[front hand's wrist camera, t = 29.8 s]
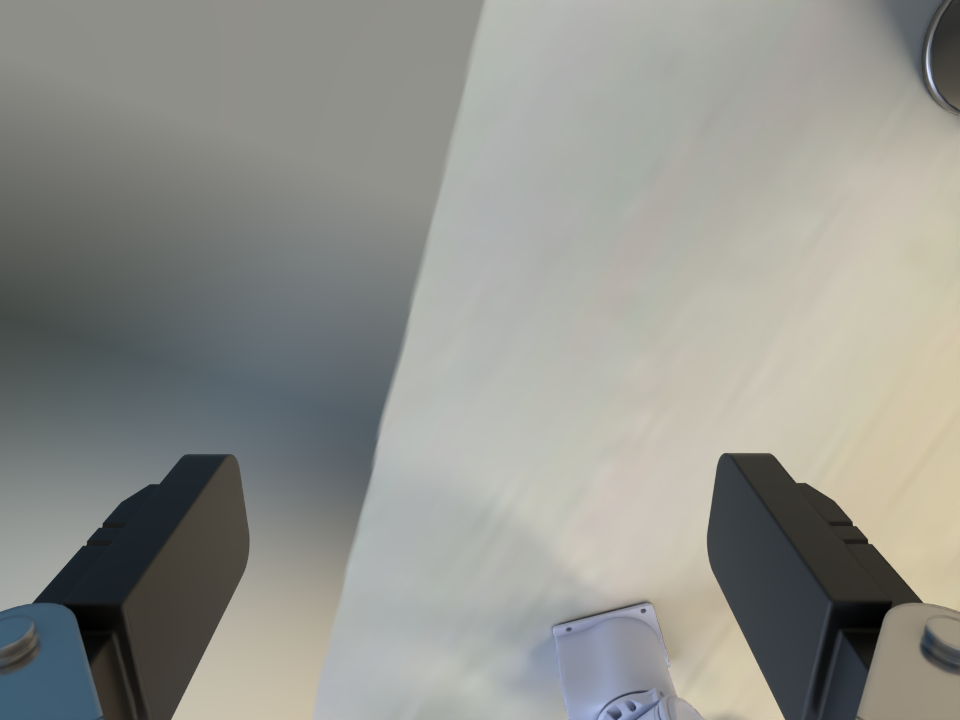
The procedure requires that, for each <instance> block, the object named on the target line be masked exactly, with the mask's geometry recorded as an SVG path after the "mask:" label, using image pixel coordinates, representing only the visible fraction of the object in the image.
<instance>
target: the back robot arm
mask: <svg viewBox="0 0 960 720" xmlns="http://www.w3.org/2000/svg"><path fill="white" fill-rule="evenodd" d="M641 609H644V610H641ZM569 627H570V629H567V628H569ZM553 634H554V636H555V641H556V648H557V655H558V662H559V670H560V677H561V684H562V690H563V696H564V701H565V705H566V710H567V714H568V717H569V720H704V719H703V717H702V716H701V715H700V714H699V712H698V711H697V710H696V709H695V708H694V707H693V706H692V705H691V704H689V703H688V702H687V701H685V700H683V699H681V698H678V697H677V694H676V691H675V688H674V685H673V682H672V679H671V676H670V673H669V670H668V668H669V667H670V662H669V659H668V655H667V652H666V648H665V645H664V641H663V638H662V635H661V631H660V628H659V624H658V621H657V617H656V614H655V610H654V607H653V605H652V604H651V603H644V604H640V605H636V606H632V607H628V608H624V609H620V610H616V611H612V612H608V613H604V614H600V615H597V616H593V617H589V618H585V619H581V620H577V621H573V622H569V623H565V624H561V625H557V626H555V627H554V628H553Z"/></svg>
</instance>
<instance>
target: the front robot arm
mask: <svg viewBox="0 0 960 720" xmlns="http://www.w3.org/2000/svg"><path fill="white" fill-rule="evenodd" d="M922 70H923V76H924V80H925V83H926V86H927V88H928V90H929V92H930V94H931V95H932V97H933V98H934V99H935V100H936V102H937V103H938V104H939V105H941V106H942V107H943V108H944V109H946V110H947V111H949V112H951V113H953V114H956V115H958V116H960V0H944V1H943V3H942V4H941V5H940V7H939V8H938V10H937V11H936V13H935V15H934V17H933V19H932V21H931V23H930V25H929V28H928V30H927V33H926V36H925V40H924V44H923V51H922ZM707 549H708V556H709V561H710V565H711V568H712V571H713V573H714V575H715V577H716V579H717V581H718V583H719V585H720V587H721V589H722V592H723V594H724V596H725V598H726V600H727V602H728V604H729V606H730V608H731V610H732V612H733V614H734V616H735V618H736V620H737V622H738V624H739V626H740V628H741V630H742V632H743V634H744V636H745V639H746V641H747V643H748V645H749V647H750V649H751V651H752V653H753V655H754V657H755V659H756V661H757V663H758V665H759V667H760V669H761V671H762V673H763V675H764V677H765V679H766V681H767V683H768V685H769V688H770V690H771V692H772V694H773V696H774V698H775V700H776V702H777V704H778V706H779V708H780V710H781V712H782V714H783V716H784V718H785V720H960V612H958V611H956V610H953V609H949V608H946V607H943V606H938V605H934V604H926V603H923V602H922V601H921V600H920V598H919V597H918V596H917V595H916V594H915V593H914V592H913V590H912V589H911V588H910V587H909V586H908V585H907V584H906V582H905V581H904V580H903V579H902V578H901V577H900V576H899V574H898V573H897V572H896V571H895V570H894V569H893V568H892V566H891V565H890V564H889V563H888V562H887V561H886V560H885V558H884V557H883V556H882V555H881V554H880V553H879V552H878V550H877V549H876V548H875V547H874V546H873V545H872V544H868V539H867V538H866V537H865V536H864V534H863V533H862V532H861V531H860V530H859V529H858V528H857V526H853V522H852V521H851V520H850V518H849V517H848V516H847V515H846V514H845V513H844V512H843V510H842V509H841V508H840V507H839V506H838V505H837V504H836V502H835V501H833V500H832V499H830V498H829V497H827V496H825V495H824V494H822V493H821V492H819V491H818V490H816V489H814V488H813V487H811V486H810V485H808V484H806V483H796V482H795V481H794V480H793V479H792V477H791V476H790V475H789V474H788V472H787V471H786V470H785V469H784V468H783V466H782V465H781V464H780V463H779V461H778V460H777V459H776V458H775V457H774V456H773V455H772V454H770V453H724V454H723V455H721V457H720V459H719V461H718V465H717V470H716V477H715V484H714V491H713V497H712V504H711V511H710V518H709V525H708V532H707ZM248 555H249V529H248V523H247V516H246V509H245V502H244V496H243V489H242V482H241V476H240V469H239V465H238V461H237V459H236V458H235V456H234V455H231V454H187V455H184V456H183V457H182V458H181V459H180V460H179V461H178V463H177V464H176V465H175V466H174V467H173V469H172V470H171V471H170V472H169V474H168V475H167V476H166V477H165V478H164V479H163V481H162V482H161V483H160V484H150V485H148V486H147V487H145V488H143V489H142V490H140V491H139V492H137V493H136V494H134V495H132V496H131V497H129V498H128V499H126V500H124V501H123V502H121V503H120V505H119V506H118V507H117V508H116V509H115V510H114V511H113V512H112V514H111V515H110V516H109V517H108V518H107V519H106V520H105V522H104V523H103V527H102V528H98V529H97V531H96V532H95V533H94V534H93V535H92V536H91V537H90V538H89V540H88V541H87V545H86V546H82V548H81V549H80V550H79V551H78V552H77V553H76V554H75V555H74V557H73V558H72V559H71V560H70V561H69V562H68V563H67V565H66V566H65V567H64V568H63V569H62V570H61V571H60V572H59V574H58V575H57V576H56V577H55V578H54V579H53V580H52V581H51V583H50V584H49V585H48V586H47V587H46V588H45V589H44V591H43V592H42V593H41V594H40V595H39V596H38V597H37V598H36V600H35V601H34V602H33V603H32V604H26V605H22V606H17V607H14V608H11V609H8V610H4V611H2V612H0V720H171V719H172V717H173V715H174V713H175V711H176V709H177V707H178V704H179V703H180V700H181V699H182V696H183V694H184V692H185V690H186V688H187V686H188V684H189V682H190V680H191V678H192V676H193V674H194V672H195V670H196V668H197V666H198V664H199V662H200V660H201V658H202V656H203V654H204V652H205V650H206V648H207V646H208V644H209V642H210V640H211V638H212V636H213V634H214V632H215V630H216V628H217V626H218V624H219V622H220V620H221V618H222V616H223V614H224V612H225V610H226V608H227V606H228V604H229V602H230V600H231V598H232V596H233V594H234V591H235V589H236V588H237V586H238V583H239V581H240V579H241V577H242V575H243V573H244V571H245V568H246V565H247V560H248Z"/></svg>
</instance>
